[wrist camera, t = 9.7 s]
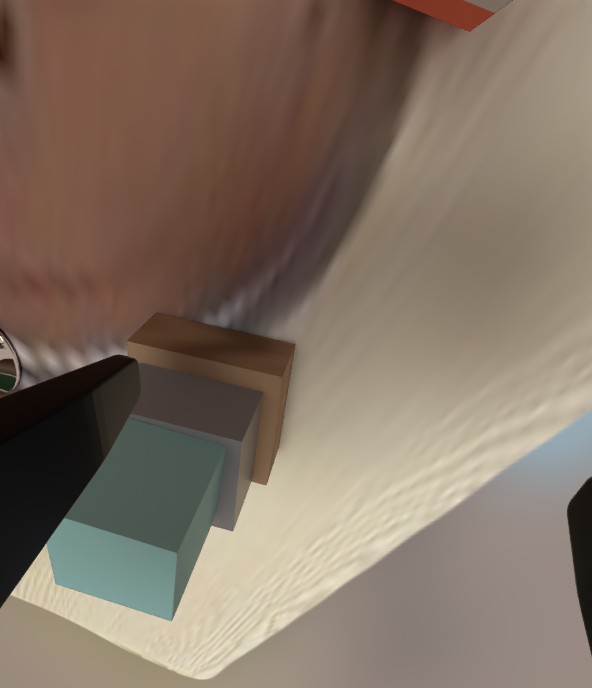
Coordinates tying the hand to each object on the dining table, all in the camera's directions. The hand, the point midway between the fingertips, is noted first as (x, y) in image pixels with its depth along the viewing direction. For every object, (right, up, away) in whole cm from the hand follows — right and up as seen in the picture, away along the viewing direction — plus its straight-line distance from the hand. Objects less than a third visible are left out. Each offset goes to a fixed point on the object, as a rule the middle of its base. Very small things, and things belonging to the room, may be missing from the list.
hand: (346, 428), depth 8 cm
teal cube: (-7, -4, +11) cm, 14 cm away
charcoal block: (-6, -3, +15) cm, 16 cm away
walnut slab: (-5, -1, +17) cm, 18 cm away
